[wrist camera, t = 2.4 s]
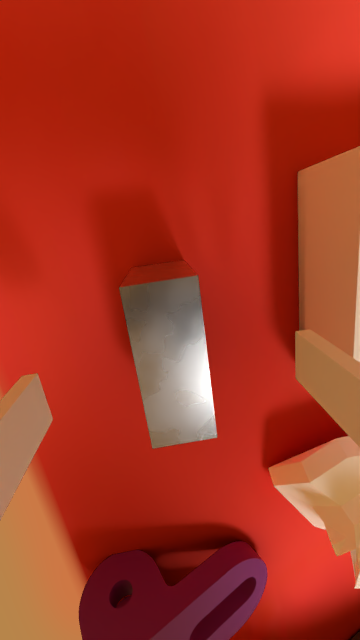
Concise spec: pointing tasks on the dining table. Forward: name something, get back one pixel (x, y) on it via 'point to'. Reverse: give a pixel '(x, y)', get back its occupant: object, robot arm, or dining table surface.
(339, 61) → the dining table surface
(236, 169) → the dining table surface
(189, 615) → the mounting bracket
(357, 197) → the cream rectangular tray
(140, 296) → the brushed metal block
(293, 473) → the cream faceted chunk
